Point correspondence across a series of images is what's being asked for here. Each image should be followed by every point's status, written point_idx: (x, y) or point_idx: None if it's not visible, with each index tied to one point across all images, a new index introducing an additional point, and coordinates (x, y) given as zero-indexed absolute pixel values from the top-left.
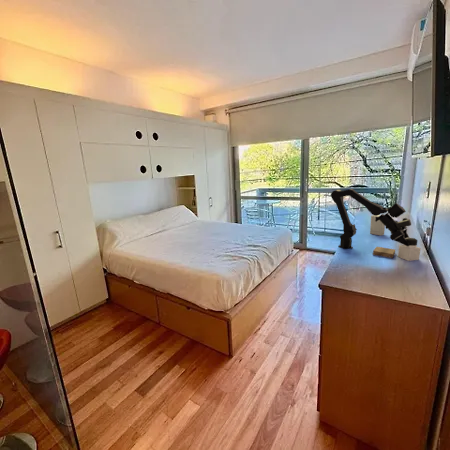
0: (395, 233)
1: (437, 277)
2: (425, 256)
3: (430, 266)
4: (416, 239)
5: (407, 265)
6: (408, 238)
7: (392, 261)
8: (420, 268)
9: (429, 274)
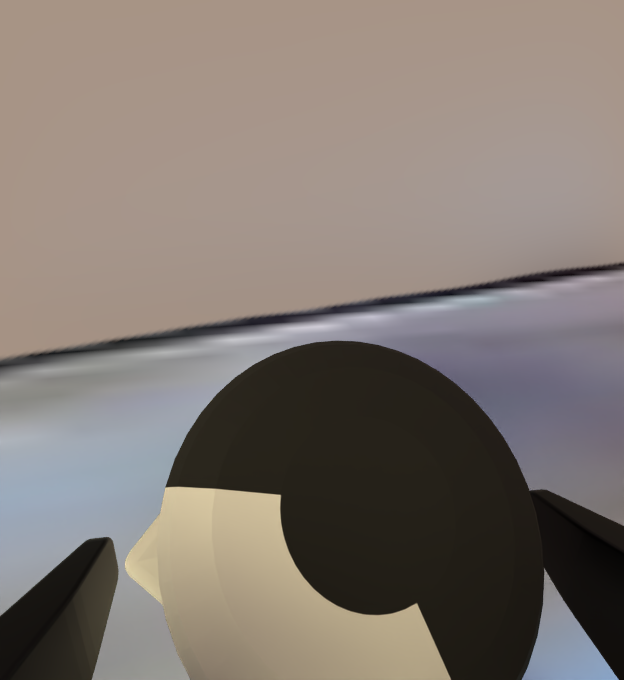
0: None
1: (590, 272)
2: (100, 378)
3: (403, 317)
4: (309, 359)
5: (549, 475)
6: (439, 594)
7: (580, 667)
8: (521, 370)
9: (586, 310)
